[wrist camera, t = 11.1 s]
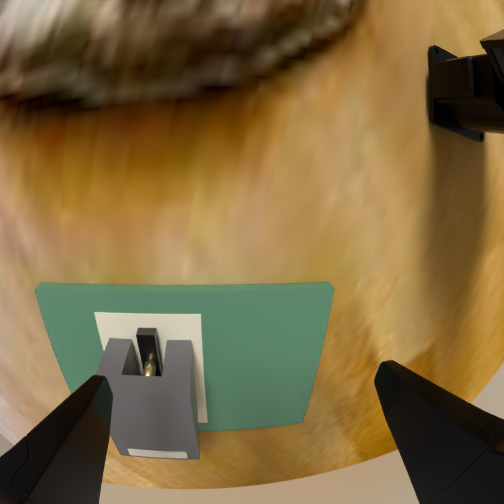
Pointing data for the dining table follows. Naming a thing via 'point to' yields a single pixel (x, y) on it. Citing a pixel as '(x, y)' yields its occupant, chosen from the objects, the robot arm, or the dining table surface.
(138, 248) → the dining table surface
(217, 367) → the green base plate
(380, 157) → the dining table surface
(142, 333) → the header pins
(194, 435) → the block
